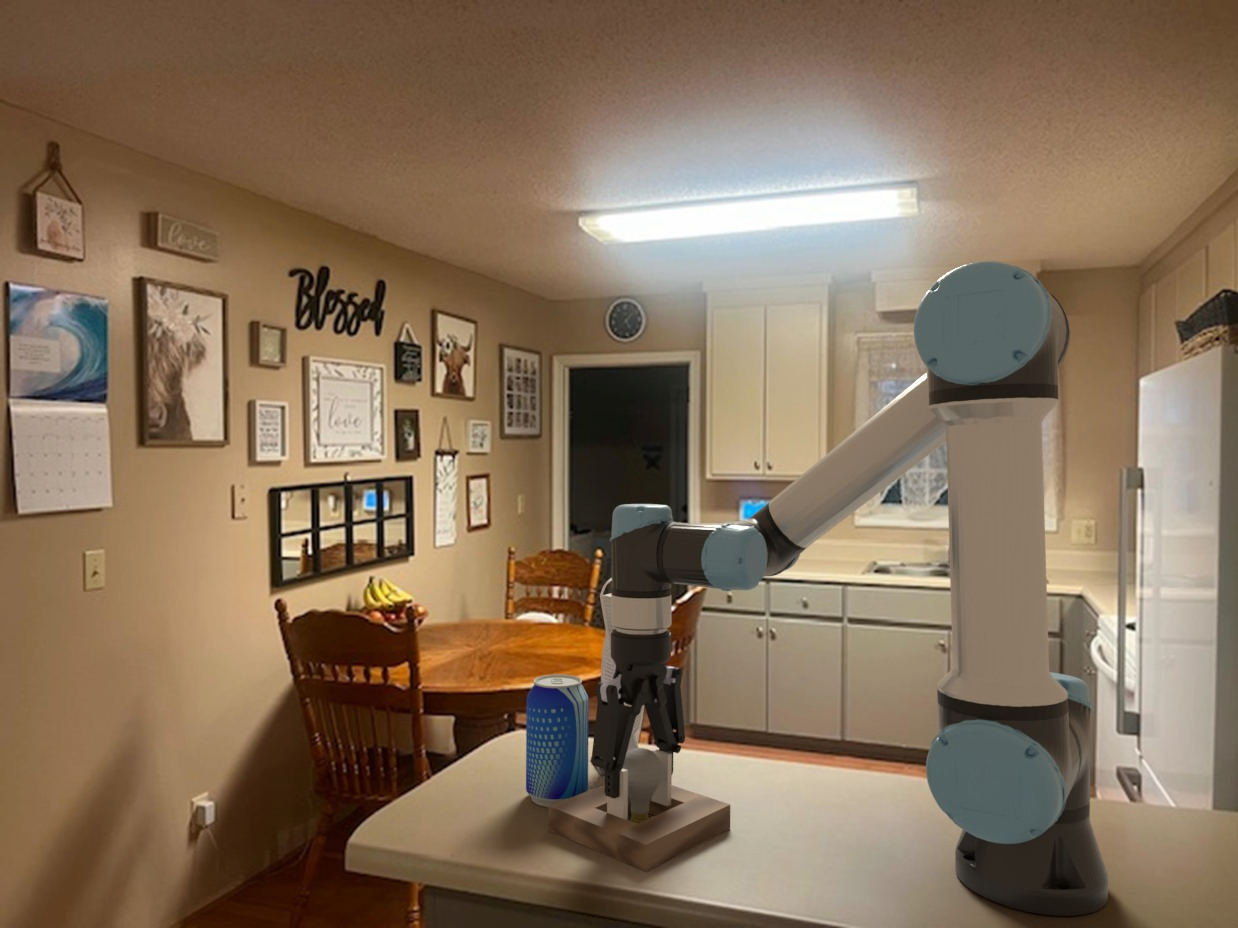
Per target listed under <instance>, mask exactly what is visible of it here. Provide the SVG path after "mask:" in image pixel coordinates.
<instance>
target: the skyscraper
mask: <svg viewBox="0 0 1238 928" xmlns="http://www.w3.org/2000/svg"><path fill="white" fill-rule="evenodd" d="M610 582H612V577H610V578H609V579H608V580H607V581H606V582H605V583H604V584H603V586H602V589H601V591H600V594H599V599H600V604H601V605H600V606H601V611H602V616H603V622H604V628H605V634H604V639H603V644H602V645H603V646H602V651H601V652H602V653H601V654H602V655H601V664H600V665H601V667H600V670H601V671H600V682H601V683H608V682H609V681H611V680H613V676H614V673H615V669H616V665H615V662H614V661H613V659H612V658H611V632H612V630H613V629H615V628H616V627H614V626H613V625H612V624H611V594H612V593H611V592H610V593H607V594H604V592H605V589H606V588H607V585H608V584H610ZM624 705H625V706H629V707H631V706H632V705H628V704H626V703H625V702H624ZM644 713H645V705H643V706H642V707H641V711H640V714H639V715H637V716H636V718H635V722H634V726H633V730H632V733H631V737H630V741H629V745H628V749H627V752H628V751H630V750H632V749H636V748H640V747H639V740H640V734H641V729H642V725H643V724H642V723H643V718H644ZM591 759H592V756H590V760H591ZM613 759H614V760H615V757H614V758H613ZM594 767H595V769H596V770H597V772H598V773H599V775H600V776H605V771H604V769H602V768H599V767H596V766H594Z"/></svg>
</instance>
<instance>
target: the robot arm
mask: <svg viewBox="0 0 1238 928" xmlns="http://www.w3.org/2000/svg"><path fill="white" fill-rule="evenodd" d="M917 307H918V308H917V309H916V313H915V317H914V320H913V321H914V323H913V338H914V343H915V347H916V349H917V350H916V351H917V352H918V355H919V358H920V359H921V361H922V363H923V365H924V366H926V367H927V371H926V372H925V373H924V374H923V375H921V377H919V378H918V379H917V380H915V382H913V383H912V384H911V385H910V386H909V387H907V388H906V389H905V390H903V391H902V392H901V393H899V395H897V396H896V397H894V399H893V400H891V401H890V402H889V403H887V405H885V406H884V407H882V408H881V409H880V410H879V411H878V412H877V413H876V414H874V415H873V416H872V417H870V418H869V419H868V420H866V421H865V422H864V423H863V424H862V425H861V426H860V427H858V428H857V429H856V430H855V431H854V432H852V433H851V434H850V435H848V436H847V437H846V438H845V439H843V440H842V442H840V443H838V445H836V446H835V447H834V448H833V449H831V451H829V452H828V453H827V454H825V455H823V456H822V458H821V459H819V460H818V461H817V462H815V463H814V464H813V465H812V466H810V468H808V469H807V470H806V471H805V472H804V473H803V474H801V475H800V476H799V477H797V478H796V479H795V480H794V481H793V482H791V483H790V484H788V486H786V487H785V488H784V489H783V490H782V491H781V492H779V493H778V494H777V495H775V497H773V498H771V500H769V502H768V503H766V504H765V505H764V506H763V507H761V508H760V509H759V510H758V511H756V512H755V513H754V514H753V515H751V516H750V517H749V518H747V519H741V520H735V521H734V520H733V521H725V522H717V523H716V522H715V523H706V522H705V523H703V522H700V523H699V522H697V523H696V522H693V523H692V522H682V521H681V522H680V521H675V520H674V518H673V513H672V511H673V510H672V508H671V507H670V506H669V505H667V504H657V503H655V504H654V503H630V504H629V503H627V504H626V503H625V504H620V505H618V506H616V507H615V508H614V509H613V512H612V519H611V520H612V522H611V535H610V538H609V542H610V557H611V560H610V561H611V578H612V581H611V590H610V591H611V592H610V593H612V594H611V624H612V625H613V626H614V627H616V628H615V629H613V630H612V632H611V658H612V659H613V661H614V662H615V665H616V669H615V673H614V676H613V680H611V681H609V682H608V683H601V681H599V682H597V684H596V685H595V695H596V699H597V700H596V701H597V705H596V714H595V715H596V716H595V722H594V723H595V724H594V731H593V732H594V734H593V743H592V752H591V757H592V759H591V758H590V760H591V761H590V762H591V765H592V766H594V767H595V766H596V767H599V768H602V769H604V771H605V775H604V785H605V795H606V796H607V813H609V814H612V815H614V816H617V817H620V818H622V819H625V820H628V819H629V817H628V770H626V769H623V764H624V761H625V757H626V753H627V749H628V745H629V741H630V737H631V733H632V730H633V726H634V722H635V718H636V716H637V715H639V714H640V711H641V707H642V706H643V705H644V709H645V711H646V715H647V718H648V722H649V724H650V728H651V732H652V736H653V739H654V742H655V746H656V747H657V748H658V749H657V748H654V749H651V751H652V752H653V753H655V754H656V756H657V757H658V758H659V760H660V762H661V765H662V778H661V781H660V783H659V785H658V787H657V789H656V790H655V792H654V794H653V796H652V797H651V801H653V802H656V803H659V804H662V805H665V806H670V805H671V786H672V785H673V784H672V777H673V775H674V753H675V754H679V753H680V752H681V751H682V745H681V744H684V742H685V741H686V733H685V721H684V720H685V719H684V711H683V702H682V701H683V700H682V699H683V698H682V689H681V687H682V685H681V684H682V678H683V670H682V668H680V667H675V666H671V665H666V663H667V662H669V660H670V659H671V657H672V632H670V630H669V629H668V628H670V627H671V626H672V624H673V623H672V622H673V621H672V585H685V586H692V587H702V588H710V589H719V590H721V591H722V592H723V591H725V592H730V591H750V590H753V589H755V588H756V587H758V585H759V583H760V582H761V581H762V580H763V578H764V577H775V576H777V575H779V574H782V573H784V572H785V571H788V570H789V569H791V568H792V567H793V566H794V565H795V564H796V563H797V561H798V560H799V559H800V556H801V554H802V553H803V552H804V551H805V550H806V549H808V548H809V547H810V546H812V545H813V544H814V543H815V542H816V541H818V540H819V539H820V538H821V537H823V536H824V535H825V534H827V533H829V532H830V531H831V530H833V528H835V527H836V526H837V525H839V524H840V523H841V522H843V521H844V520H845V519H847V518H848V517H850V516H851V515H852V514H853V513H854V512H856V511H857V510H858V509H860V508H861V507H863V506H864V505H865V504H867V503H868V502H869V501H870V500H871V499H873V498H874V497H876V496H877V495H879V493H881V492H882V491H883V490H885V489H886V488H888V487H889V485H892V483H894V482H895V481H897V480H898V479H899V478H901V477H902V476H903V475H904V474H906V473H907V472H908V471H910V470H911V469H912V468H913V467H915V466H916V465H918V464H919V463H920V462H922V461H923V460H924V459H926V458H927V457H928V456H930V455H931V454H932V453H934V451H936V450H937V449H938V448H941V446H942V445H944V444H945V443H946V471H947V473H946V477H947V479H946V481H947V506H948V513H947V514H948V544H949V579H950V582H949V584H950V585H949V587H950V609H951V610H950V613H951V615H950V616H951V618H950V619H951V646H952V647H951V650H952V654H951V655H952V667H951V668H950V670H949V671H948V672H947V673H946V674H945V675H944V676H943V677H942V678H940V679H939V681H937V684H936V685H937V687H936V692H937V693H936V695H937V735H936V736H934V738H933V740H932V741H931V743H930V748H929V749H928V753H927V758H926V762H925V765H926V766H925V774H926V780H927V784H928V788H929V790H930V792H931V795H932V797H933V799H934V801H935V803H936V804H937V805H938V808H940V810H941V811H942V812H943V813H945V814H946V815H947V817H948V819H950V820H951V821H952V822H953V824H955V825H956V826H957V827H959V829H962V830H961V833H960V835H959V838H958V841H957V843H956V846H955V851H954V852H955V855H954V856H955V858H954V859H955V861H954V862H955V863H954V868H955V874H956V876H957V877H958V879H959V881H961V882H962V884H964V885H965V886H966V887H967V888H968V889H970V890H971V891H972V892H975V893H976V894H977V895H979V896H981V897H984V898H985V899H988V900H990V901H992V902H994V903H997V904H1000V905H1002V906H1005V907H1009V908H1012V909H1015V910H1019V911H1023V912H1027V913H1028V912H1029V913H1034V914H1038V915H1045V916H1047V915H1048V916H1061V917H1064V916H1065V917H1066V916H1067V917H1069V916H1082V915H1086V914H1090V913H1094V912H1098V911H1099V910H1101V909H1102V908H1103V907H1105V905H1106V904H1107V903H1108V899H1109V876H1108V872H1107V868H1106V866H1105V865H1106V864H1105V862H1104V860H1103V857H1102V853H1101V851H1100V847H1099V845H1098V842H1097V838H1096V836H1095V833H1094V829H1093V827H1092V824H1091V815H1090V813H1091V811H1090V810H1091V713H1092V712H1093V709H1094V708H1093V704H1092V702H1091V691H1090V686H1089V685H1088V684H1087V682H1085V681H1084V680H1083V679H1081V678H1079V677H1076V676H1073V675H1068V674H1064V673H1058V672H1052V671H1050V655H1049V654H1050V653H1049V652H1050V651H1049V650H1050V649H1049V622H1048V593H1047V592H1048V591H1047V561H1046V560H1047V558H1046V557H1047V555H1046V524H1045V493H1044V492H1045V491H1044V490H1045V489H1044V487H1045V486H1044V459H1043V458H1044V457H1043V429H1042V428H1043V424H1042V423H1043V422H1044V420H1045V418H1046V416H1048V415H1049V413H1051V412H1052V410H1054V409H1055V408H1056V406H1058V405H1059V403H1060V401H1059V368H1060V367H1061V365H1062V364H1063V362H1064V361H1065V358H1066V356H1067V354H1068V351H1069V347H1070V343H1071V325H1070V321H1069V318H1068V315H1067V312H1066V310H1065V309H1064V306H1063V305H1062V304H1061V303H1060V301H1059V300H1058V299H1057V298H1056V297H1055V296H1054V295H1053V294H1051V292H1049V291H1048V290H1047V289H1046V288H1045V287H1044V285H1043V284H1042V282H1041V281H1040V280H1039V279H1038V278H1036V276H1034V275H1033V274H1032V273H1031V272H1029V271H1028V270H1026V269H1023V268H1021V267H1018V266H1016V265H1012V264H1008V263H1005V262H1000V261H995V260H994V261H991V260H985V261H983V260H982V261H976V262H971V263H967V264H964V265H961V266H959V267H957V268H954V269H952V270H950V271H948V272H947V273H946V274H944V275H942V276H941V277H940V278H939V279H938V280H937V281H935V282H934V284H933V285H932V286H931V287H930V288H929V289H928V290H927V291H926V293H925V294H924V295H923V298H922V299H921V301H920V303H919V305H918V306H917ZM624 702H625V703H626V704H628V705H632V706H631V707H629V706H625V705H624ZM674 730H675V731H674ZM614 757H615V760H614V759H613V758H614ZM596 767H595V768H596ZM628 821H629V820H628Z"/></svg>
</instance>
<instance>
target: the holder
mask: <svg viewBox="0 0 1238 928" xmlns="http://www.w3.org/2000/svg"><path fill="white" fill-rule="evenodd" d="M631 813H632V812H631V802H630V799H629V797H628V818H631ZM648 815H652V817H650V818H649V817H648V819H647V820H645V821H642V822H640V823H638V824H636V823H633V822H631V820H630V821H629V820H625V819H622V818H620V817H617V816H614V815H612V814H609V813H607V796H606V795H605V784H603V785H600V786H598V787H595V788H592V789H590V790H589V789H588V790H587V792H584V793H582V794H579V795H576V796H574V797H571V798H568V799H566V800H563V801H561V802H558V803H555V804H553V805H550V806H549V807H548V831H549V832H552V833H554V834H557V835H558V836H561V837H563V838H566V839H568V840H571V841H573V842H575V843H578V844H580V845H583V846H585V847H587V848H590V849H592V850H594V851H597V852H599V853H601V854H603V855H606V856H609V857H611V858H613V859H614V860H615V859H616V860H618V861H620V862H622V863H625V864H627V865H629V866H632V867H634V868H636V869H639V870H642V871H643V872H648V871H650V870H651V869H654V868H656V867H658V866H660V865H661V864H663V863H665V862H667V861H670V860H672V859H673V858H675V857H677V856H679V855H681V854H683V853H685V852H687V851H689V850H691V849H693V848H694V847H697V846H699V845H700V844H703V843H705V842H707V841H709V840H710V839H712V838H715V837H716V836H718V835H720V834H722V833H725V832H726V831H729V830H730V829H731V804H730V803H727V802H724V801H722V800H718V799H714V798H711V797H709V796H706V795H703V794H699V793H697V792H693V791H690V790H687V789H684V788H682V787H678V786H676V785H673V784H672V786H671V805H670V806H665V805H662V804H659V803H656V802H653V801H651V799H650V802H649V812H648Z"/></svg>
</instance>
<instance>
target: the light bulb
mask: <svg viewBox="0 0 1238 928" xmlns="http://www.w3.org/2000/svg"><path fill="white" fill-rule="evenodd" d="M623 769H626V770H628V797H629V799H630V802H631V812H632V813H631V816H630V818H631V820H630V822H633V823H636V824H638V823H640V822H642V821H645V820H647V819H649V813H648V812H649V802H650V799H651V797H652V796H653V794H654V792H655V790H656V789H657V787H658V785H659V783H660V781H661V778H662V765H661V762H660V760H659V758H658V757H657V756H656V754H655V753H653V752H652V750H650V749H648V748H644V747H639V748H636V749H632V750H630V751H628V752H627V753H626V757H625V761H624V764H623Z"/></svg>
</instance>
